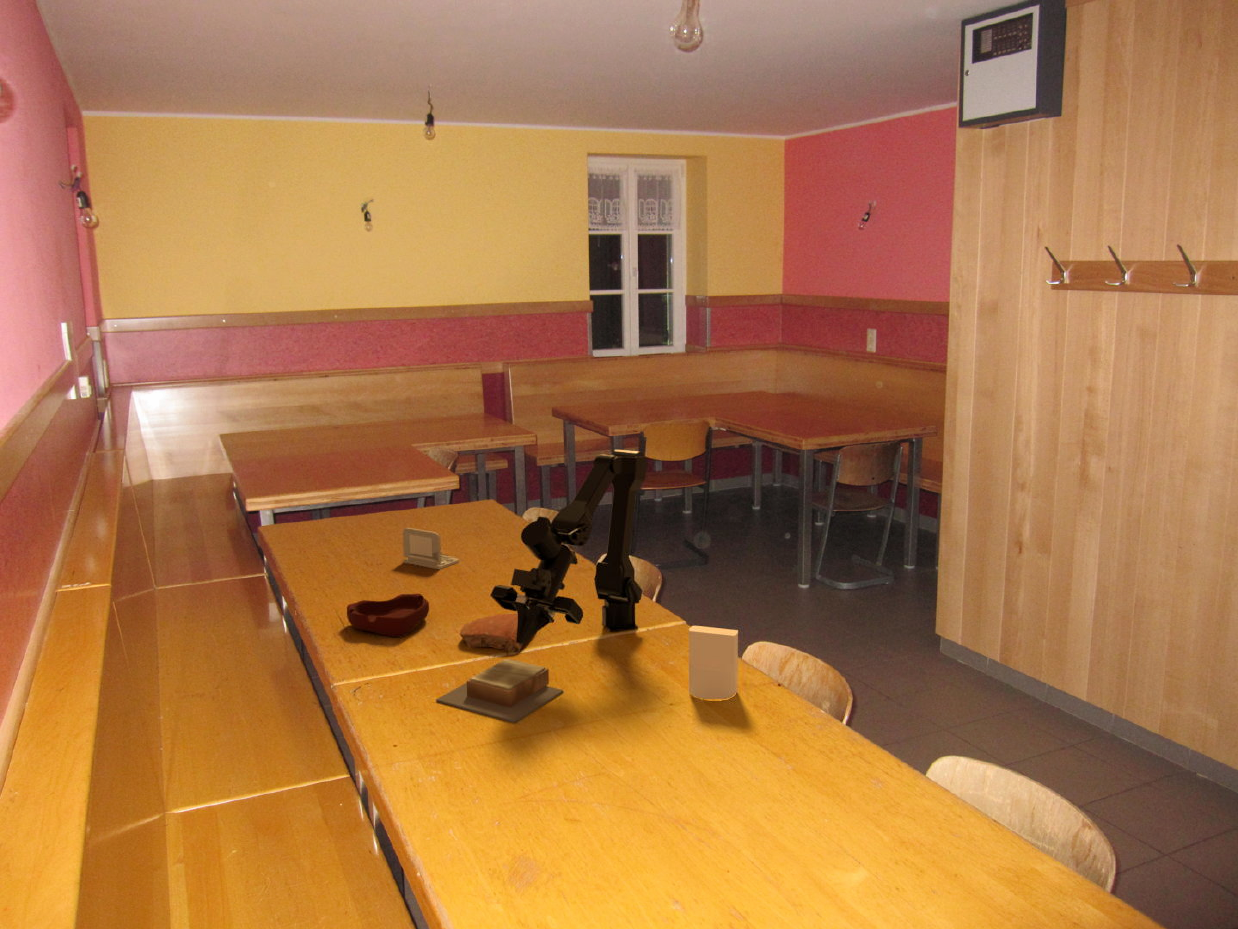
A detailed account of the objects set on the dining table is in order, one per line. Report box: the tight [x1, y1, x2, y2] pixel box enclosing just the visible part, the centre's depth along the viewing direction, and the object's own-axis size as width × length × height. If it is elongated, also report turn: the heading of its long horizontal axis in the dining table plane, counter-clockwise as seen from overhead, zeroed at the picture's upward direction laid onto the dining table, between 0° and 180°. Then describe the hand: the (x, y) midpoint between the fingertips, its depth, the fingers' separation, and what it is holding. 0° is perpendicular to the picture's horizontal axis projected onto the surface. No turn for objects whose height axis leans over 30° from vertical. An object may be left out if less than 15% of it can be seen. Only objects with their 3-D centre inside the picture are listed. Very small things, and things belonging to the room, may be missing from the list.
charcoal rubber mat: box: [435, 682, 564, 724], centre depth 180 cm, size 15×18×1 cm
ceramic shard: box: [459, 613, 525, 653], centre depth 209 cm, size 15×6×15 cm
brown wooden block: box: [466, 658, 550, 707], centre depth 181 cm, size 3×10×12 cm
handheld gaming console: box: [402, 527, 460, 570], centre depth 266 cm, size 13×9×10 cm
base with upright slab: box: [688, 625, 739, 700], centre depth 180 cm, size 9×9×12 cm
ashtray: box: [346, 593, 430, 638], centre depth 216 cm, size 18×16×5 cm
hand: (518, 643), depth 183 cm, fingers closed
